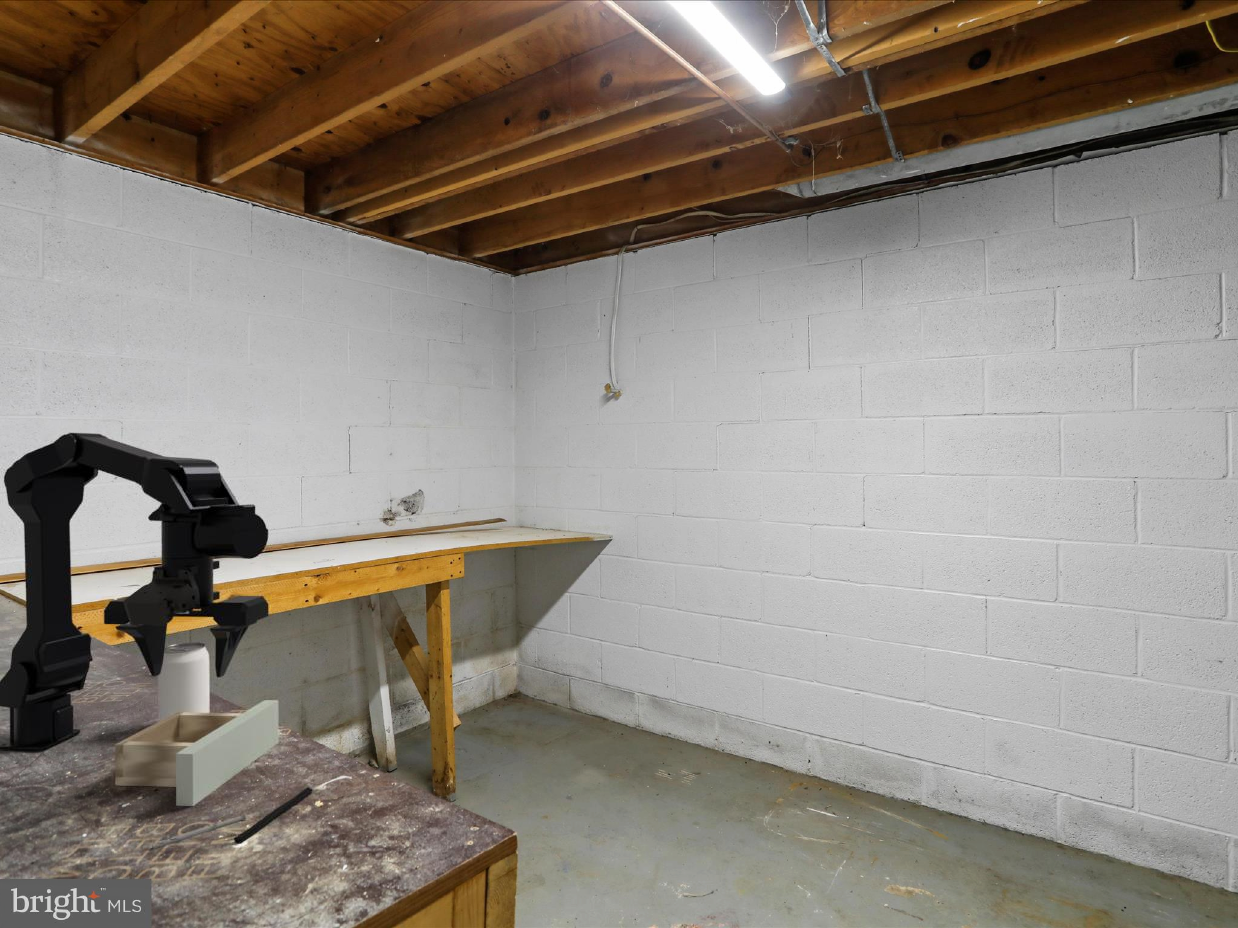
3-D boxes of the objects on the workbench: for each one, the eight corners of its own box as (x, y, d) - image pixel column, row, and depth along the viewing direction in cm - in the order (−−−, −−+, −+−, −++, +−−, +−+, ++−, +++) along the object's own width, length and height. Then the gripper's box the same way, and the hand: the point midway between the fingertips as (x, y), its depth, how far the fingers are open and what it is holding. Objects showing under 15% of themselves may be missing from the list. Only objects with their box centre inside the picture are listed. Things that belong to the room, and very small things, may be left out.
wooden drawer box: (115, 785, 85) (115, 744, 85) (177, 748, 96) (177, 712, 96) (201, 787, 85) (201, 746, 85) (254, 749, 96) (254, 713, 96)
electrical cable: (310, 790, 84) (310, 782, 84) (317, 791, 84) (317, 783, 84) (233, 845, 72) (233, 835, 72) (241, 846, 72) (241, 836, 72)
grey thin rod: (246, 823, 77) (246, 814, 77) (153, 853, 71) (153, 844, 71) (243, 819, 78) (243, 810, 78) (151, 849, 72) (151, 839, 72)
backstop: (176, 805, 80) (176, 753, 80) (264, 742, 98) (264, 699, 98) (193, 805, 80) (192, 753, 80) (278, 742, 98) (278, 700, 98)
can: (185, 737, 100) (185, 653, 100) (147, 733, 101) (147, 651, 101) (219, 720, 107) (219, 642, 106) (183, 717, 108) (183, 640, 108)
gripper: (66, 564, 83) (67, 695, 83) (217, 565, 82) (218, 698, 82) (136, 552, 94) (137, 667, 94) (270, 553, 93) (271, 670, 93)
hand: (188, 675), depth 90 cm, fingers open, 8 cm apart
